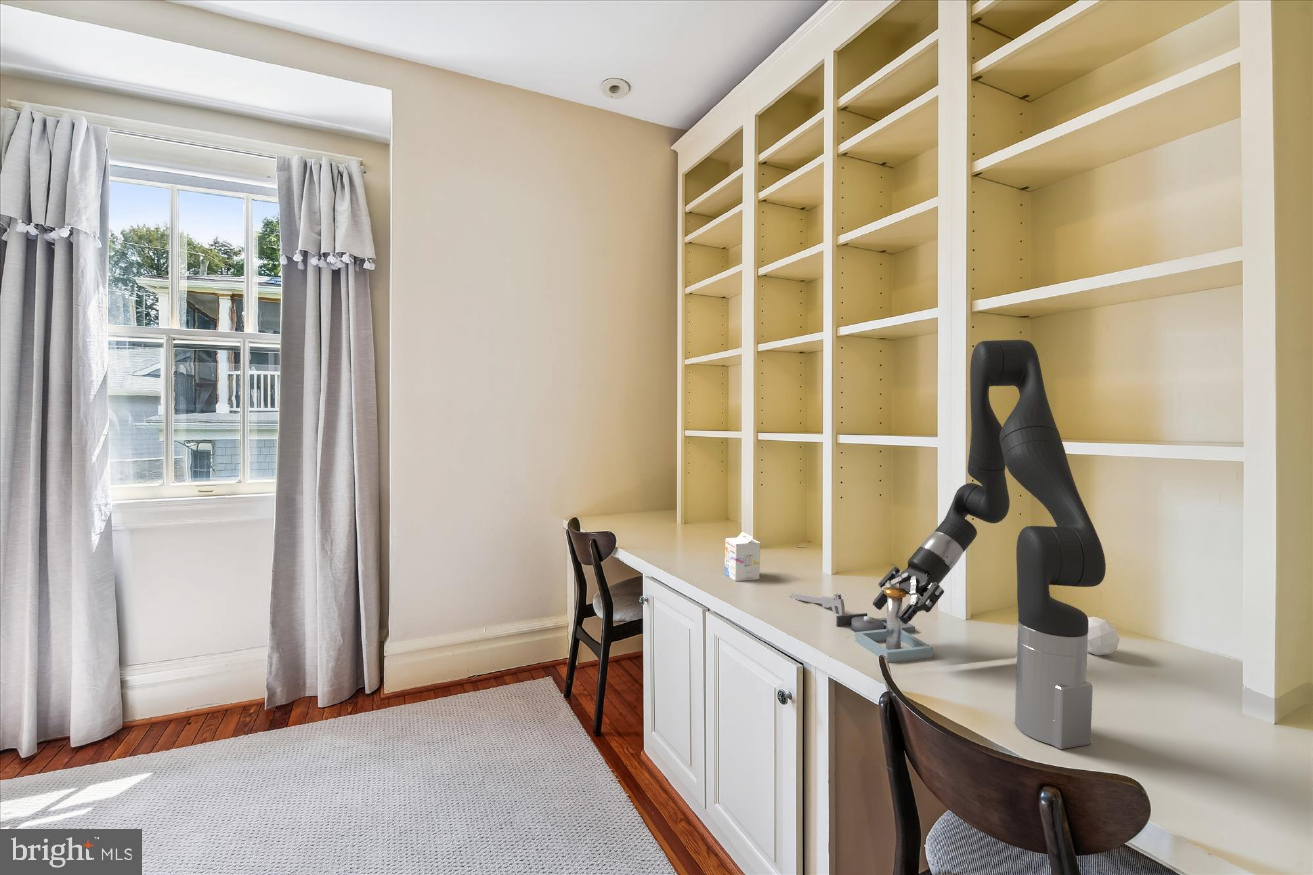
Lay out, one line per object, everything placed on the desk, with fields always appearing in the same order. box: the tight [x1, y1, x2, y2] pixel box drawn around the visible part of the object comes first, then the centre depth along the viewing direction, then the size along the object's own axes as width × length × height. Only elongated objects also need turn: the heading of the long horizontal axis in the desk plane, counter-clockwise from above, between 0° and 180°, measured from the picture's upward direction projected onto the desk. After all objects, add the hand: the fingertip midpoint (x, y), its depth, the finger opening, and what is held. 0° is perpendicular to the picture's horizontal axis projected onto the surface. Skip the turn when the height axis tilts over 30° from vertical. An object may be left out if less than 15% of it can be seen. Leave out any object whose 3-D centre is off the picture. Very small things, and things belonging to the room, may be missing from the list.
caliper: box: [788, 592, 846, 616], centre depth 150 cm, size 20×1×6 cm, turn 26°
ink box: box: [724, 531, 761, 582], centre depth 178 cm, size 9×8×13 cm
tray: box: [854, 629, 934, 663], centre depth 121 cm, size 11×11×3 cm
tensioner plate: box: [835, 612, 920, 635], centre depth 132 cm, size 9×16×4 cm, turn 104°
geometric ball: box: [1087, 616, 1120, 656], centre depth 122 cm, size 8×8×8 cm
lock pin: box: [884, 587, 907, 650], centre depth 121 cm, size 4×4×13 cm
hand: (888, 613), depth 121 cm, fingers open, 8 cm apart
